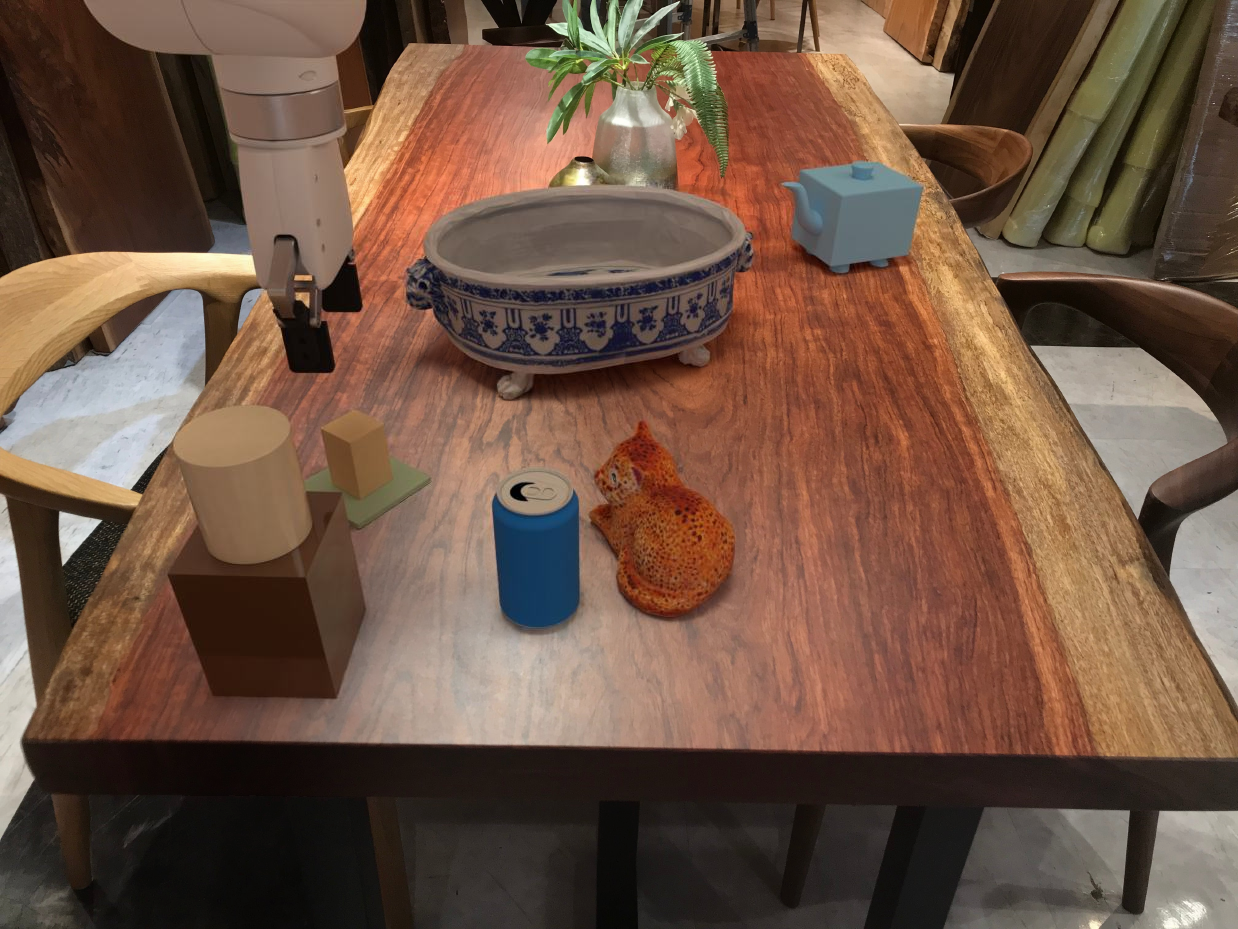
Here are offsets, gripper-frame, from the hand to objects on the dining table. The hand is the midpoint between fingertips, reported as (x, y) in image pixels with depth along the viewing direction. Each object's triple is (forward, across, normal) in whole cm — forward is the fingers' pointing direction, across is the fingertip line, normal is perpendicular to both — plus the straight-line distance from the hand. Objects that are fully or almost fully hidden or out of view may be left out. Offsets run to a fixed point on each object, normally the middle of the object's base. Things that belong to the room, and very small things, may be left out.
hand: (329, 339), depth 69 cm
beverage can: (+19, +10, +16) cm, 27 cm away
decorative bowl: (+19, -34, +20) cm, 44 cm away
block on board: (+19, -6, -1) cm, 20 cm away
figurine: (+19, +4, +26) cm, 33 cm away
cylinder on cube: (+19, +15, -2) cm, 24 cm away
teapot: (+19, -61, +57) cm, 85 cm away
